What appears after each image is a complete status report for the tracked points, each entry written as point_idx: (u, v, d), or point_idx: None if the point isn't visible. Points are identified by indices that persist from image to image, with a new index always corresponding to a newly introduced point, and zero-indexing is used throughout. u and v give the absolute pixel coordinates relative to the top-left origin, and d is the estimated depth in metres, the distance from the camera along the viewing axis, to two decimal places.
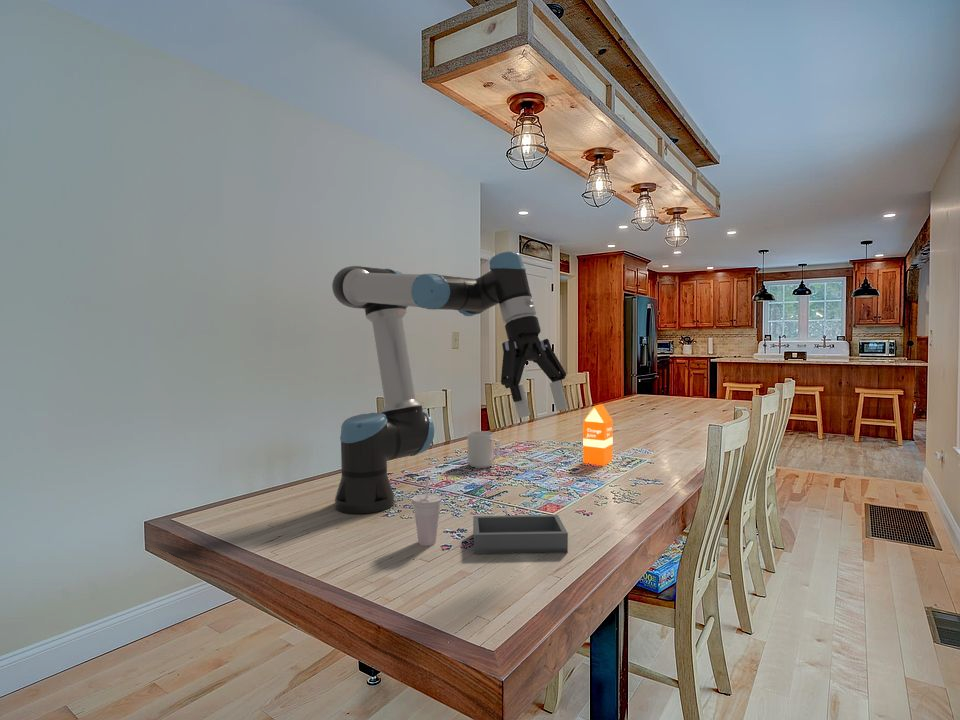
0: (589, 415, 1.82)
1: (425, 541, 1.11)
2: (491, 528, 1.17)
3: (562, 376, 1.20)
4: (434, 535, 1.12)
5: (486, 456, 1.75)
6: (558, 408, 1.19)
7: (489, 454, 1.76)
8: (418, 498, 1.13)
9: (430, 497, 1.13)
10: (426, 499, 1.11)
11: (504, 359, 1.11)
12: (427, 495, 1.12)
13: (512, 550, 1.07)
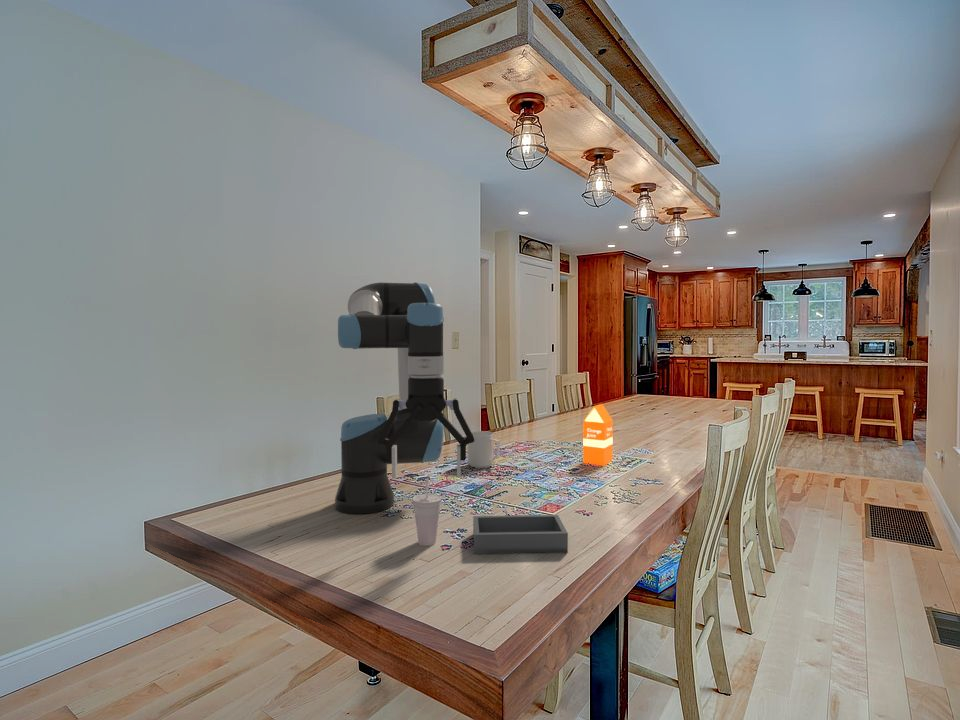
0: (589, 415, 1.82)
1: (425, 541, 1.11)
2: (491, 528, 1.17)
3: (463, 443, 1.11)
4: (434, 535, 1.12)
5: (486, 456, 1.75)
6: None
7: (489, 454, 1.76)
8: (418, 498, 1.13)
9: (430, 497, 1.13)
10: (426, 499, 1.11)
11: None
12: (427, 495, 1.12)
13: (512, 550, 1.07)
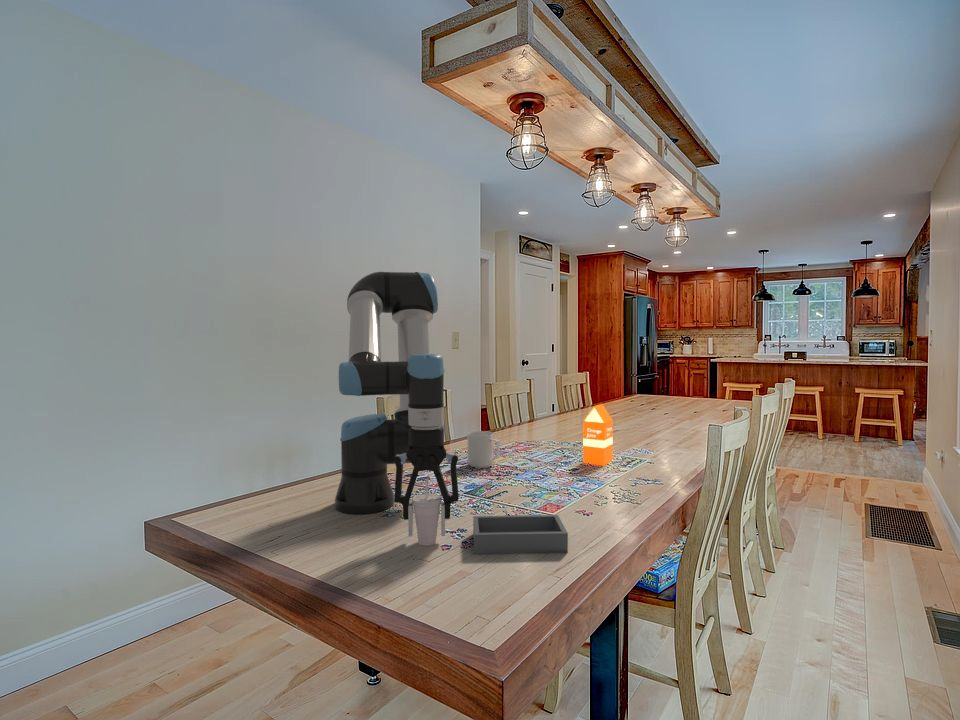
0: (589, 415, 1.82)
1: (425, 541, 1.11)
2: (491, 528, 1.17)
3: (447, 502, 1.11)
4: (434, 535, 1.12)
5: (486, 456, 1.75)
6: None
7: (489, 454, 1.76)
8: (418, 498, 1.13)
9: (430, 497, 1.13)
10: (426, 499, 1.11)
11: None
12: (427, 495, 1.12)
13: (512, 550, 1.07)
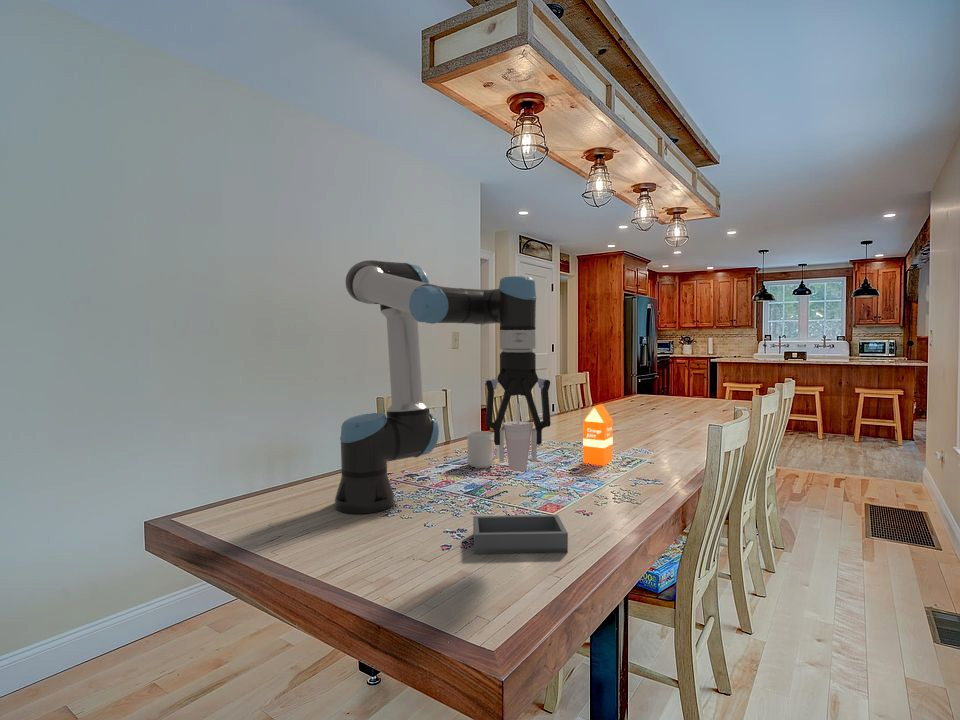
0: (589, 415, 1.82)
1: (517, 466, 1.10)
2: (491, 528, 1.17)
3: (540, 427, 1.10)
4: (526, 460, 1.11)
5: (486, 456, 1.75)
6: (531, 456, 1.13)
7: (489, 454, 1.76)
8: (509, 424, 1.11)
9: (521, 422, 1.11)
10: (518, 424, 1.10)
11: (487, 399, 1.12)
12: (519, 420, 1.11)
13: (512, 550, 1.07)
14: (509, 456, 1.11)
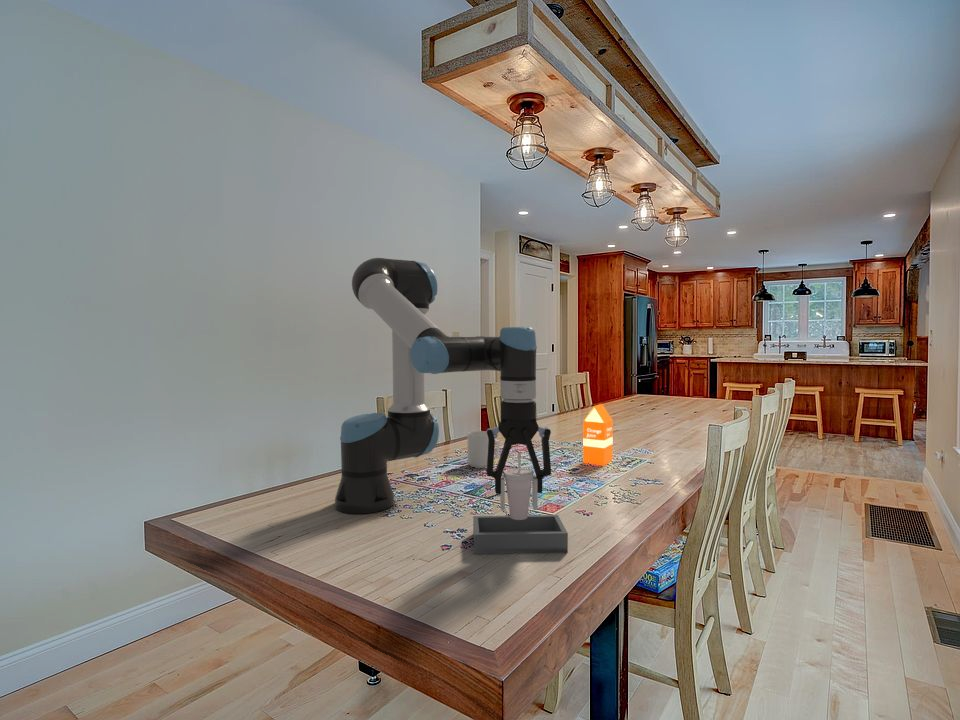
0: (589, 415, 1.82)
1: (518, 515, 1.10)
2: (491, 528, 1.17)
3: (540, 476, 1.11)
4: (527, 509, 1.11)
5: (486, 456, 1.75)
6: (532, 504, 1.13)
7: None
8: (510, 472, 1.12)
9: (522, 471, 1.12)
10: (519, 473, 1.11)
11: (488, 448, 1.12)
12: (519, 469, 1.11)
13: (512, 550, 1.07)
14: (510, 505, 1.11)
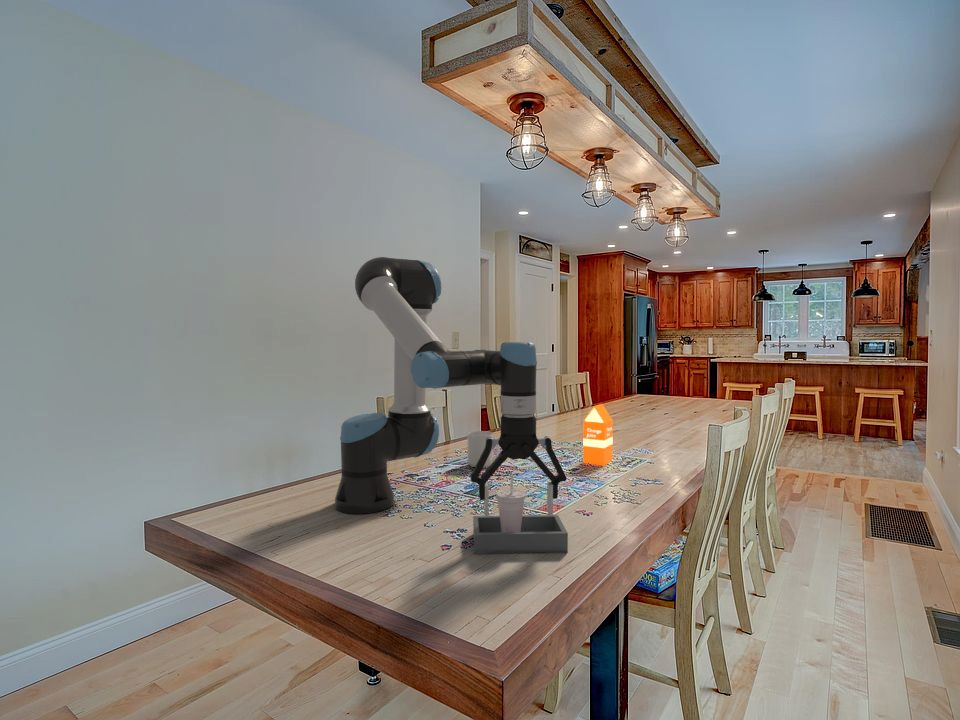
0: (589, 415, 1.82)
1: None
2: (491, 528, 1.17)
3: (556, 481, 1.11)
4: (519, 531, 1.11)
5: None
6: (547, 510, 1.13)
7: (489, 454, 1.76)
8: (502, 494, 1.12)
9: (514, 493, 1.12)
10: (511, 495, 1.11)
11: (481, 455, 1.12)
12: (512, 491, 1.12)
13: (512, 550, 1.07)
14: (502, 526, 1.11)
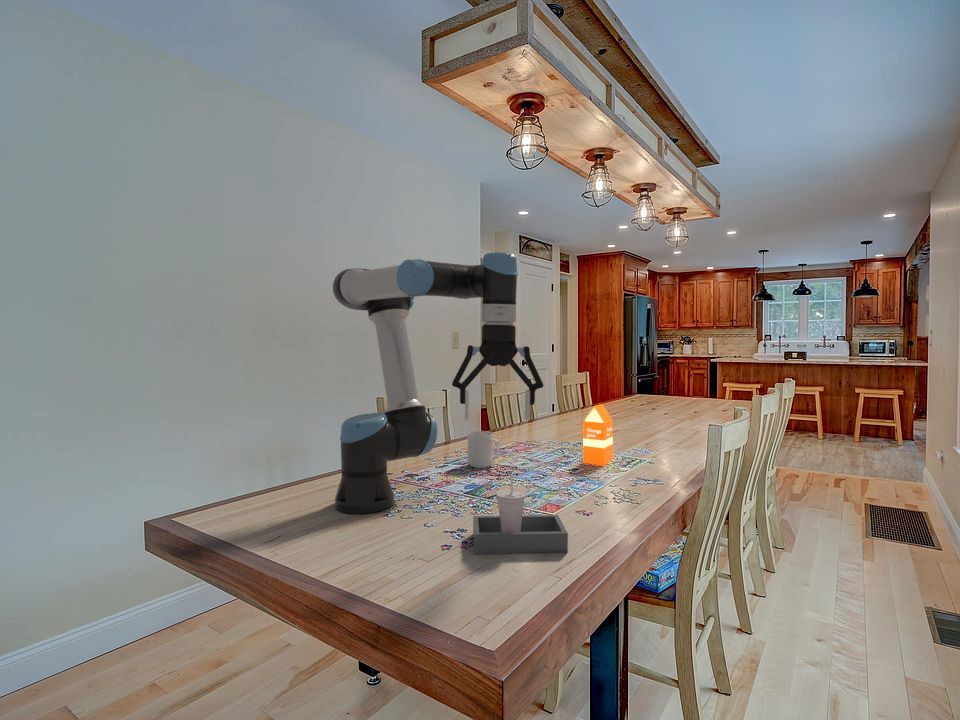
0: (589, 415, 1.82)
1: None
2: (491, 528, 1.17)
3: (533, 388, 1.17)
4: (519, 531, 1.11)
5: (486, 456, 1.75)
6: (525, 416, 1.19)
7: (489, 454, 1.76)
8: (502, 494, 1.12)
9: (514, 493, 1.12)
10: (511, 495, 1.11)
11: None
12: (512, 491, 1.12)
13: (512, 550, 1.07)
14: (502, 526, 1.11)
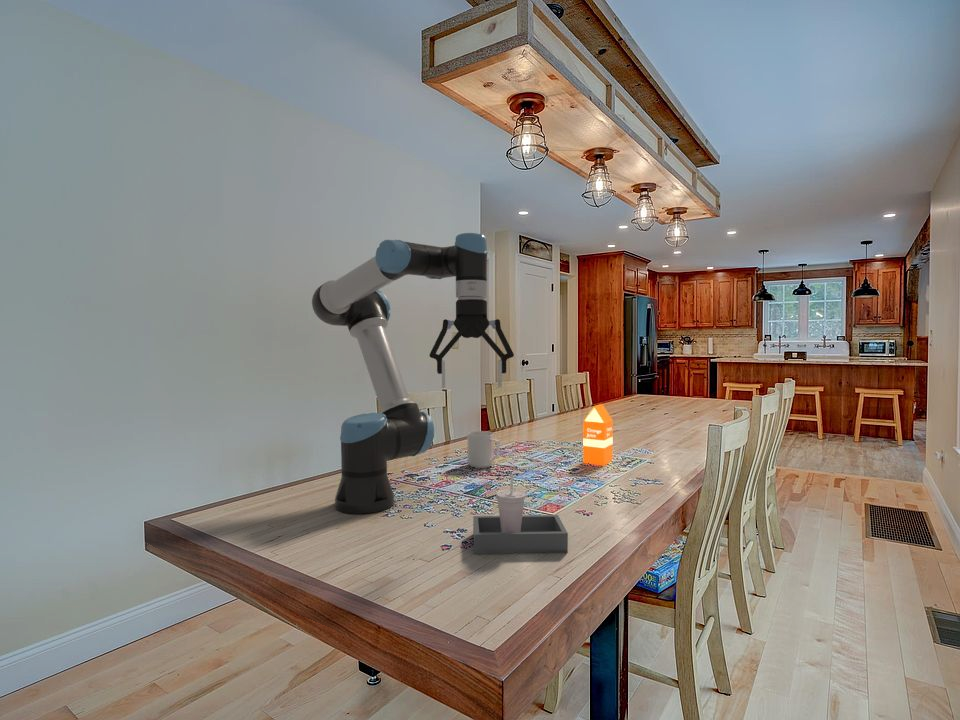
0: (589, 415, 1.82)
1: None
2: (491, 528, 1.17)
3: (504, 357, 1.26)
4: (519, 531, 1.11)
5: (486, 456, 1.75)
6: None
7: (489, 454, 1.76)
8: (502, 494, 1.12)
9: (514, 493, 1.12)
10: (511, 495, 1.11)
11: None
12: (512, 491, 1.12)
13: (512, 550, 1.07)
14: (502, 526, 1.11)
